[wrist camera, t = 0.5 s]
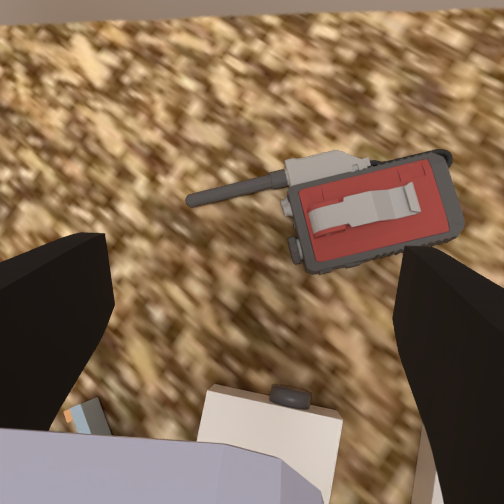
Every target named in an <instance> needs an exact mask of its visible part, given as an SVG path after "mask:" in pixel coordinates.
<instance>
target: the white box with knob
mask: <svg viewBox="0 0 504 504" xmlns="http://www.w3.org/2000/svg"><path fill="white" fill-rule="evenodd" d="M311 396H312V393H311V392H308V391H306V390H303V389H299V388H295V387H291V386H286V385H279V384H272V386H271V392H270V396H268V395H264V394H259V393H255V392H250V391H245V390H241V389H236V388H232V387H227V386H222V385H218V384H214V385H213V386H212V387H211V388H210V389H208V390H207V394H206V399H205V404H204V409H203V413H202V418H201V423H200V428H199V433H198V437H197V442H211V443H226V444H230V445H234V446H237V447H241V448H245V449H249V450H253V451H257V452H260V453H264V454H268V455H272V456H276V457H278V458H280V459H282V460H283V461H284V462H285V463H287V464H288V465H289V466H290V467H292V468H293V469H294V470H295V471H297V472H298V473H299V474H300V475H302V476H303V477H304V478H305V479H307V480H308V481H309V482H310V483H312V484H313V485H314V486H315V487H317V488H318V489H319V490H320V491H321V494H322V497H323V501H324V504H329V500H330V494H331V488H332V482H333V476H334V470H335V464H336V458H337V452H338V446H339V441H340V435H341V429H342V423H343V420H342V418H341V416H340V415H339V413H338V411H337V410H333V409H328V408H323V407H319V406H314V405H310V401H311Z"/></svg>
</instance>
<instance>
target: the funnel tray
mask: <svg viewBox="0 0 504 504" xmlns="http://www.w3.org/2000/svg"><path fill="white" fill-rule="evenodd" d="M411 504H444V503H443V498H442V493H441V489H440V484H439V480H438V476H437V471H436V467H435V462H434V458H433V454H432V450H431V446H430V443H429V440H428V436H427V433H426V430H425V427H424V424H423V425H422V432H421V439H420V445H419V452H418V459H417V466H416V473H415V480H414V486H413V493H412V500H411Z"/></svg>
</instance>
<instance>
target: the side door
mask: <svg viewBox="0 0 504 504" xmlns="http://www.w3.org/2000/svg"><path fill="white" fill-rule="evenodd" d="M64 415H65V418H66V420H67V423H68V422H70V421H73V420H74V423H75V426H76V429H77V431H78V433H82V434H97V435H111V432H110V430H109V427H108V424H107V421H106V419H105V416H104V413H103V410H102V408H101V405H100V402H99V399H98V397H97V398H94V399H92V400H89V401H86V402H84V403H81V404H79V405H77V406H74V407H72V408H70V409H68V410H66V411H64ZM111 436H112V435H111Z"/></svg>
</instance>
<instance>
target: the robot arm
mask: <svg viewBox="0 0 504 504" xmlns="http://www.w3.org/2000/svg"><path fill="white" fill-rule="evenodd" d="M114 306H115V301H114V294H113V287H112V280H111V272H110V265H109V258H108V251H107V244H106V237H105V233H83V232H81V233H76V234H72V235H69V236H66V237H63V238H60V239H57V240H55V241H52V242H50V243H47V244H45V245H42V246H40V247H37V248H35V249H32V250H30V251H28V252H25V253H23V254H20V255H18V256H15V257H13V258H10V259H8V260H5V261H2V262H0V504H324V501H323V497H322V494H321V491H320V490H319V489H318V488H317V487H315V486H314V485H313V484H312V483H310V482H309V481H308V480H307V479H305V478H304V477H303V476H302V475H300V474H299V473H298V472H297V471H295V470H294V469H293V468H292V467H290V466H289V465H288V464H287V463H285V462H284V461H283V460H282V459H280V458H278V457H276V456H272V455H268V454H264V453H260V452H257V451H253V450H249V449H245V448H241V447H237V446H234V445H230V444H226V443H211V442H197V441H183V440H168V439H154V438H140V437H125V436H111V435H97V434H82V433H68V432H54V431H49V429H50V426H51V424H52V422H53V421H54V419H55V417H56V415H57V413H58V411H59V409H60V408H61V406H62V404H63V403H64V401H65V399H66V398H67V396H68V394H69V393H70V391H71V389H72V388H73V386H74V384H75V383H76V381H77V379H78V378H79V376H80V374H81V372H82V371H83V369H84V367H85V366H86V364H87V362H88V361H89V359H90V357H91V356H92V354H93V352H94V350H95V349H96V347H97V345H98V344H99V342H100V340H101V338H102V336H103V334H104V332H105V329H106V327H107V324H108V322H109V319H110V317H111V314H112V311H113V309H114ZM392 319H393V325H394V331H395V337H396V342H397V347H398V352H399V355H400V358H401V362H402V364H403V367H404V370H405V373H406V376H407V379H408V382H409V385H410V388H411V390H412V393H413V396H414V399H415V402H416V405H417V407H418V410H419V413H420V416H421V419H422V422H423V424H424V427H425V430H426V433H427V436H428V440H429V443H430V446H431V450H432V454H433V458H434V462H435V467H436V471H437V476H438V480H439V484H440V489H441V493H442V498H443V503H444V504H504V288H502V287H501V286H499V285H497V284H495V283H494V282H492V281H490V280H489V279H487V278H485V277H484V276H482V275H480V274H479V273H477V272H475V271H474V270H472V269H470V268H469V267H467V266H465V265H464V264H462V263H461V262H459V261H457V260H456V259H454V258H452V257H451V256H449V255H447V254H445V253H444V252H442V251H440V250H438V249H436V248H433V247H428V246H404V252H403V258H402V264H401V270H400V276H399V282H398V288H397V294H396V300H395V306H394V312H393V318H392Z"/></svg>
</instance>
